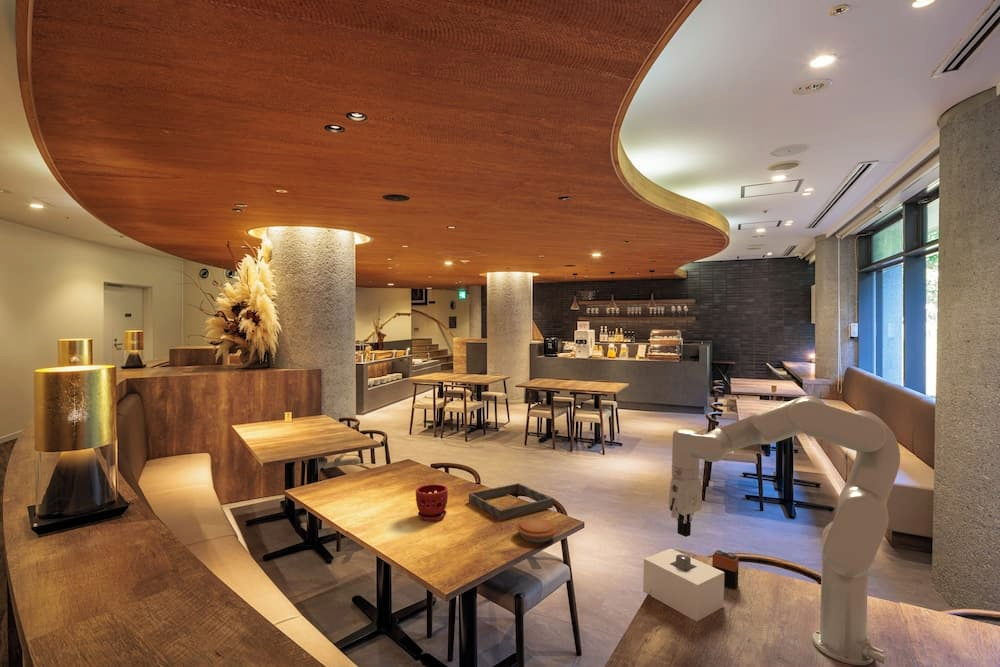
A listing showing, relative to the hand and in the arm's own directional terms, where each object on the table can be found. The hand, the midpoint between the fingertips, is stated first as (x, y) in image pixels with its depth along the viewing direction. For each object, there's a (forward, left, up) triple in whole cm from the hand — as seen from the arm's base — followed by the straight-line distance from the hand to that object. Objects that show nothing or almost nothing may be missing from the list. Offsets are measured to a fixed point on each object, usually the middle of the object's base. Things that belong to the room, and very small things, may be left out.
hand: (683, 534), depth 145 cm
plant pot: (+95, +34, -19) cm, 103 cm away
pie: (+57, +9, -20) cm, 61 cm away
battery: (-2, -19, -19) cm, 27 cm away
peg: (0, 0, -15) cm, 15 cm away
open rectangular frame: (+89, -2, -19) cm, 91 cm away
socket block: (0, 0, -19) cm, 19 cm away
